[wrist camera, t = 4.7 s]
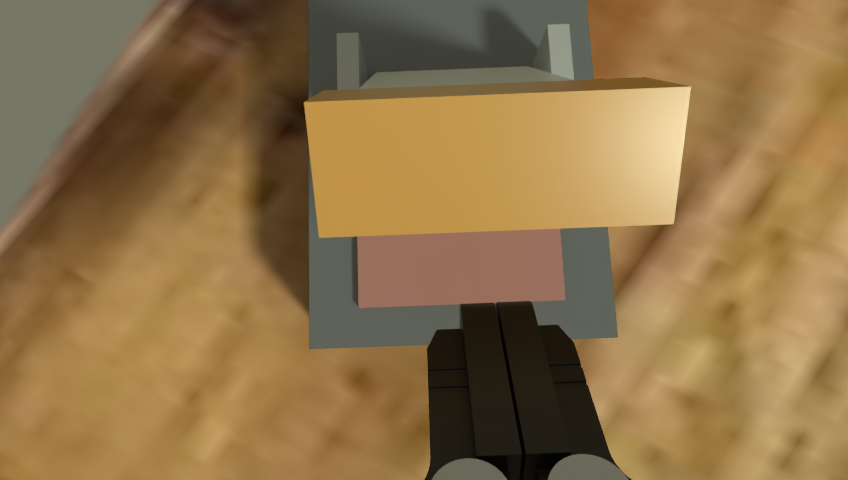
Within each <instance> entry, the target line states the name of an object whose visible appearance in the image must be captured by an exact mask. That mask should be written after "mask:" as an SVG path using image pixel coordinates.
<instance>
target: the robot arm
mask: <svg viewBox="0 0 848 480" xmlns="http://www.w3.org/2000/svg"><path fill="white" fill-rule="evenodd" d="M427 356H428V388H429V421H430V454H431V458H430V467H429V471H428V473H427V476H426V478H425V480H631V479H630V478H629V477H627V476H626V475H625V474H624V473H623V472H622V471H621V470H620V469H619V467H618V466H617V465H616V463H615V462H614V460H613V458H612V457H611V454H610V452H609V450H608V446H607V443H606V440H605V437H604V434H603V431H602V428H601V425H600V422H599V419H598V416H597V413H596V409H595V406H594V403H593V400H592V397H591V394H590V391H589V388H588V385H586V379H585V376H584V372H583V369H582V368H581V363H580V360H579V357H578V354H577V351H576V348H575V345H574V342H573V341H572V340H571V339H570V338H569V337H568V335H567V334H566V333H565V332H564V331H563V330H562V329H561V328H560V326H559V325H538V323H537V319H536V315H535V311H534V308H533V304H532V302H531V301H515V302H496V305H495V304H494V303H469V304H460V329H439V330H436V332H435V334H434V336H433V338H432V340H431V342H430V344H429V346H428V348H427Z"/></svg>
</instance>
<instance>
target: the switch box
mask: <svg viewBox="0 0 848 480" xmlns="http://www.w3.org/2000/svg"><path fill="white" fill-rule="evenodd" d="M520 66H529V67H532V68H536V69H539V70H542V71H545V72H549V73H552V74H555V75H558V76H562V77H565V78H568V79H571V80H593V79H594V77H593V67H592V56H591V45H590V34H589V24H588V13H587V2H586V0H308V94H309V99H310V98H312V97H313V96H315V95H317V94H318V93H320V92H321V91H323V90H345V89H359V88H360V87H361V86H362V85H363V84H364V83H365V82H366V81H368V80H369V79H370V78H371V77H372V76H373V75H374V74H375V73H376V72H396V71H421V70H446V69H470V68H495V67H520ZM515 301H531V302H532V304H533V308H534V311H535V315H536V319H537V323H538V325H559V326H560V328H561V329H562V330H563V331H564V332H565V333H566V334H567V335H568V337H569V338H570V339H588V338H615V337H618V334H617V323H616V312H615V302H614V291H613V280H612V270H611V259H610V248H609V237H608V227H588V228H562V229H536V230H510V231H485V232H459V233H433V234H407V235H381V236H356V237H330V238H319V233H318V224H317V215H316V206H315V198H314V189H313V180H312V171H311V162H310V153H309V349H323V348H349V347H376V346H402V345H429V344H430V342H431V340H432V338H433V336H434V334H435V332H436V330H439V329H460V304H469V303H494V304H495V305H496V302H515Z"/></svg>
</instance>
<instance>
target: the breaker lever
mask: <svg viewBox="0 0 848 480" xmlns="http://www.w3.org/2000/svg"><path fill="white" fill-rule="evenodd" d="M690 91H691V86H686V85H681V84H676V83H671V82H666V81H661V80H655V79H650V78H645V77H642V78H618V79H593V80H571V79H568V78H565V77H562V76H558V75H555V74H552V73H549V72H545V71H542V70H539V69H536V68H532V67H529V66H520V67H495V68H470V69H446V70H421V71H396V72H376V73H375V74H374V75H373V76H372V77H371V78H370V79H369V80H368V81H366V82H365V83H364V84H363V85H362V86H361V87H360V88H359V89H345V90H323V91H321V92H320V93H318V94H317V95H315V96H313V97H312V98H310V99H308V100H307V101H305V102H304V108H305V117H306V126H307V135H308V144H309V153H310V162H311V171H312V180H313V189H314V198H315V206H316V215H317V224H318V233H319V238H330V237H356V236H381V235H407V234H433V233H459V232H485V231H510V230H536V229H562V228H588V227H613V226H639V225H665V224H674V218H675V210H676V202H677V194H678V186H679V178H680V170H681V162H682V154H683V146H684V138H685V130H686V123H687V115H688V107H689V99H690Z"/></svg>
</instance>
